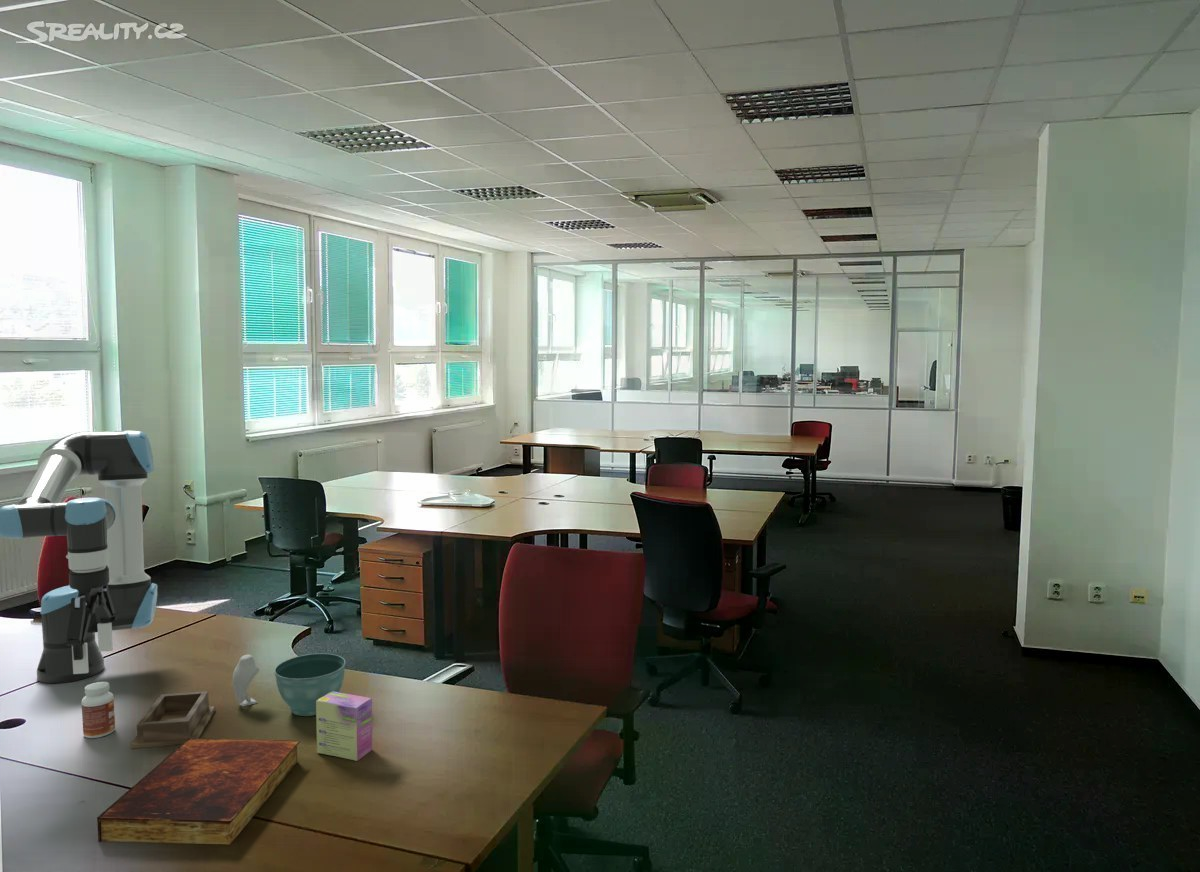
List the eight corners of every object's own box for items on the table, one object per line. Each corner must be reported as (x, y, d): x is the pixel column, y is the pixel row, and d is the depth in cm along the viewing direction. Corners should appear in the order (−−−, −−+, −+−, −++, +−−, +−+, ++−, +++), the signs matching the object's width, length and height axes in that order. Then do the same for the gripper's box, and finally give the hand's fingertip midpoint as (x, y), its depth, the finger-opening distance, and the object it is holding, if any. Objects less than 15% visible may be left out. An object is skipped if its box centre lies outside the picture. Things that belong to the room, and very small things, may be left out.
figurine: (228, 702, 198) (226, 655, 197) (250, 695, 202) (248, 649, 201) (242, 711, 193) (240, 663, 192) (263, 704, 197) (262, 657, 196)
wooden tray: (156, 714, 191) (155, 694, 190) (215, 710, 194) (214, 690, 193) (130, 748, 174) (129, 726, 174) (195, 742, 177) (194, 721, 177)
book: (188, 760, 170) (187, 738, 170) (300, 763, 170) (300, 740, 169) (97, 844, 141) (95, 817, 140) (232, 848, 140) (231, 820, 140)
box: (373, 749, 175) (372, 697, 174) (357, 761, 169) (356, 707, 168) (333, 741, 178) (332, 690, 177) (316, 753, 173) (315, 700, 172)
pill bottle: (116, 734, 181) (113, 687, 180) (83, 741, 177) (80, 693, 176) (114, 724, 186) (112, 677, 185) (83, 730, 182) (80, 683, 181)
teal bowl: (277, 728, 184) (275, 682, 183) (274, 701, 199) (273, 658, 198) (350, 716, 191) (349, 672, 190) (342, 690, 206) (341, 649, 205)
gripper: (93, 555, 189) (97, 643, 191) (43, 584, 165) (49, 684, 167) (128, 554, 191) (132, 641, 193) (84, 582, 166) (89, 681, 168)
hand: (93, 661), depth 180 cm, fingers open, 13 cm apart
